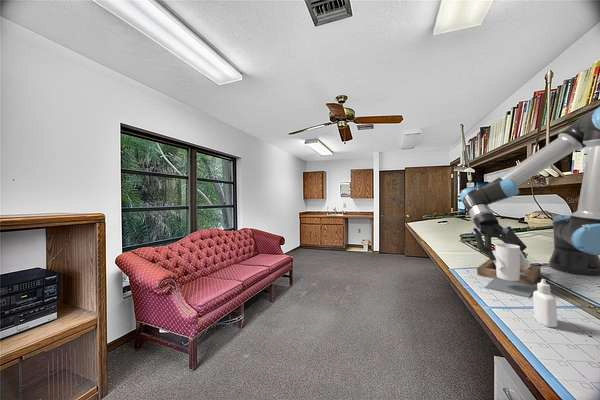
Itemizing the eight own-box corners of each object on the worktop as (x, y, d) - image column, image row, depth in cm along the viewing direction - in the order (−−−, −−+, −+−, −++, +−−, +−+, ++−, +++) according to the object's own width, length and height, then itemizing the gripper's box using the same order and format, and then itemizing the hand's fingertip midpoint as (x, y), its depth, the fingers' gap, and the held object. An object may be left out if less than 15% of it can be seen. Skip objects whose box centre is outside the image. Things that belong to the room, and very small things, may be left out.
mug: (517, 283, 81) (517, 248, 80) (493, 277, 86) (492, 245, 86) (525, 275, 87) (524, 244, 86) (501, 271, 92) (501, 241, 92)
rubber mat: (536, 287, 85) (535, 286, 85) (529, 297, 78) (529, 296, 78) (494, 279, 95) (494, 278, 95) (485, 287, 88) (484, 286, 88)
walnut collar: (540, 273, 97) (540, 266, 97) (532, 285, 87) (532, 277, 86) (489, 265, 110) (489, 259, 110) (477, 274, 100) (477, 268, 100)
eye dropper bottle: (556, 320, 65) (554, 278, 64) (557, 330, 61) (555, 284, 60) (534, 315, 68) (532, 274, 67) (533, 324, 64) (531, 280, 64)
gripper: (506, 222, 100) (540, 272, 84) (454, 224, 103) (478, 273, 87) (515, 210, 94) (553, 262, 79) (460, 213, 97) (487, 263, 82)
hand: (514, 267), depth 83 cm, fingers closed on mug, 8 cm apart
